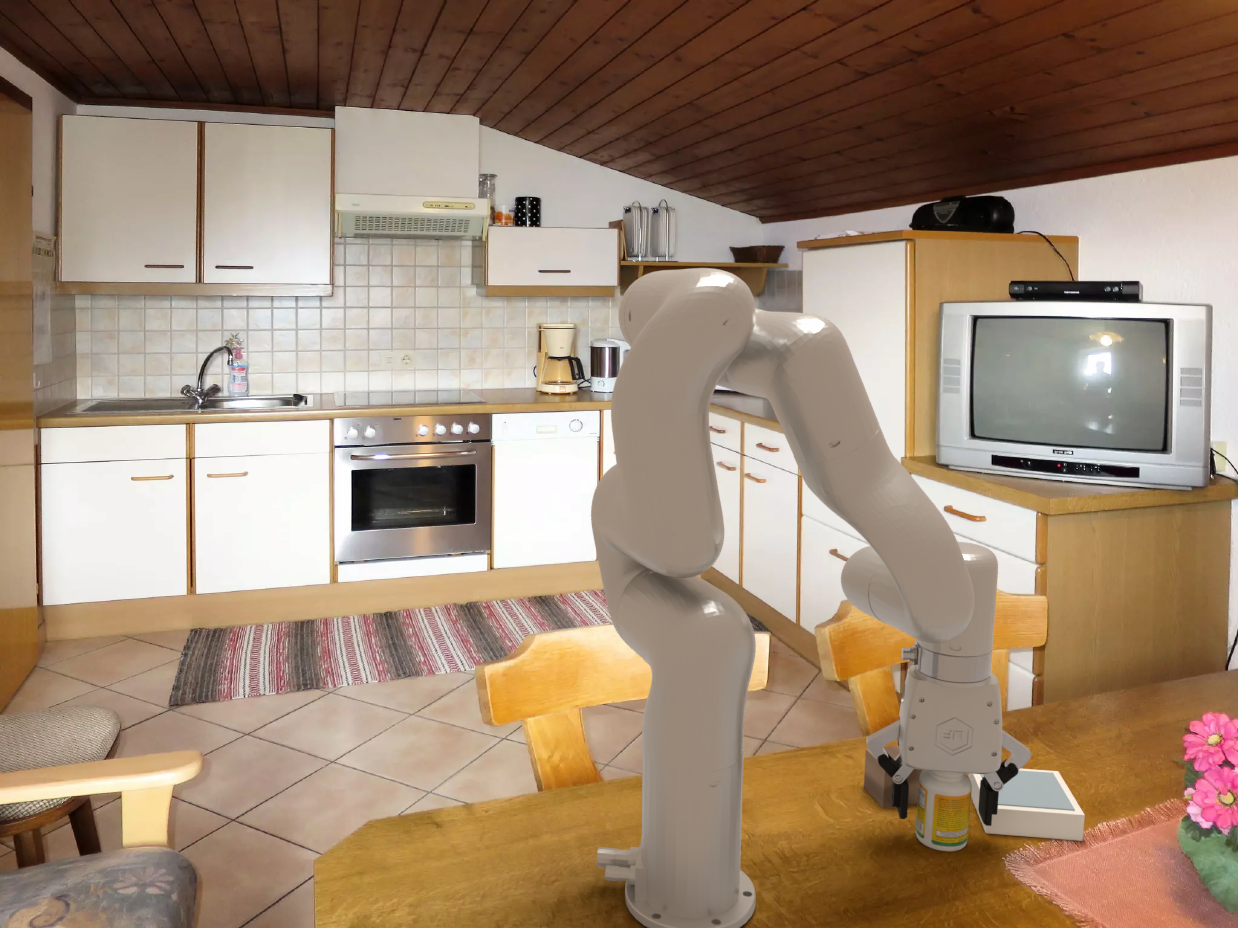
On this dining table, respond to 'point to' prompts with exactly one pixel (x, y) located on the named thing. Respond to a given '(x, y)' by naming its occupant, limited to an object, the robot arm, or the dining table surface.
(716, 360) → the robot arm
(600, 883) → the dining table surface
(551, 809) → the dining table surface
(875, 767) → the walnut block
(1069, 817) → the base
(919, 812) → the supplement bottle
